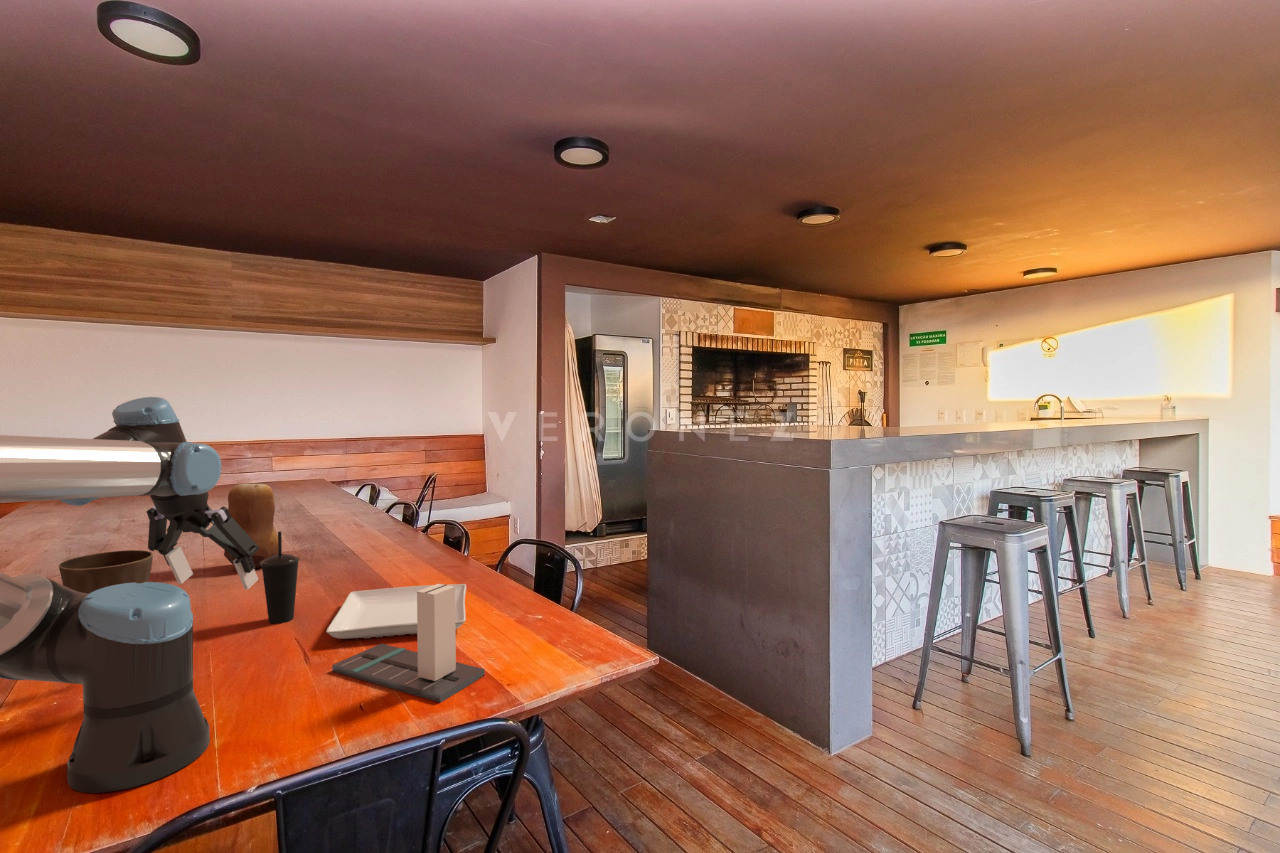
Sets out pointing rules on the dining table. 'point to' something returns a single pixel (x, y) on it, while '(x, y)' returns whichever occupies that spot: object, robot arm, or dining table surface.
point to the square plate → (386, 612)
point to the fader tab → (436, 631)
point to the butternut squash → (254, 518)
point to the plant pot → (106, 570)
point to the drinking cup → (280, 584)
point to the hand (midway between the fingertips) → (218, 581)
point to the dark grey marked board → (405, 672)
